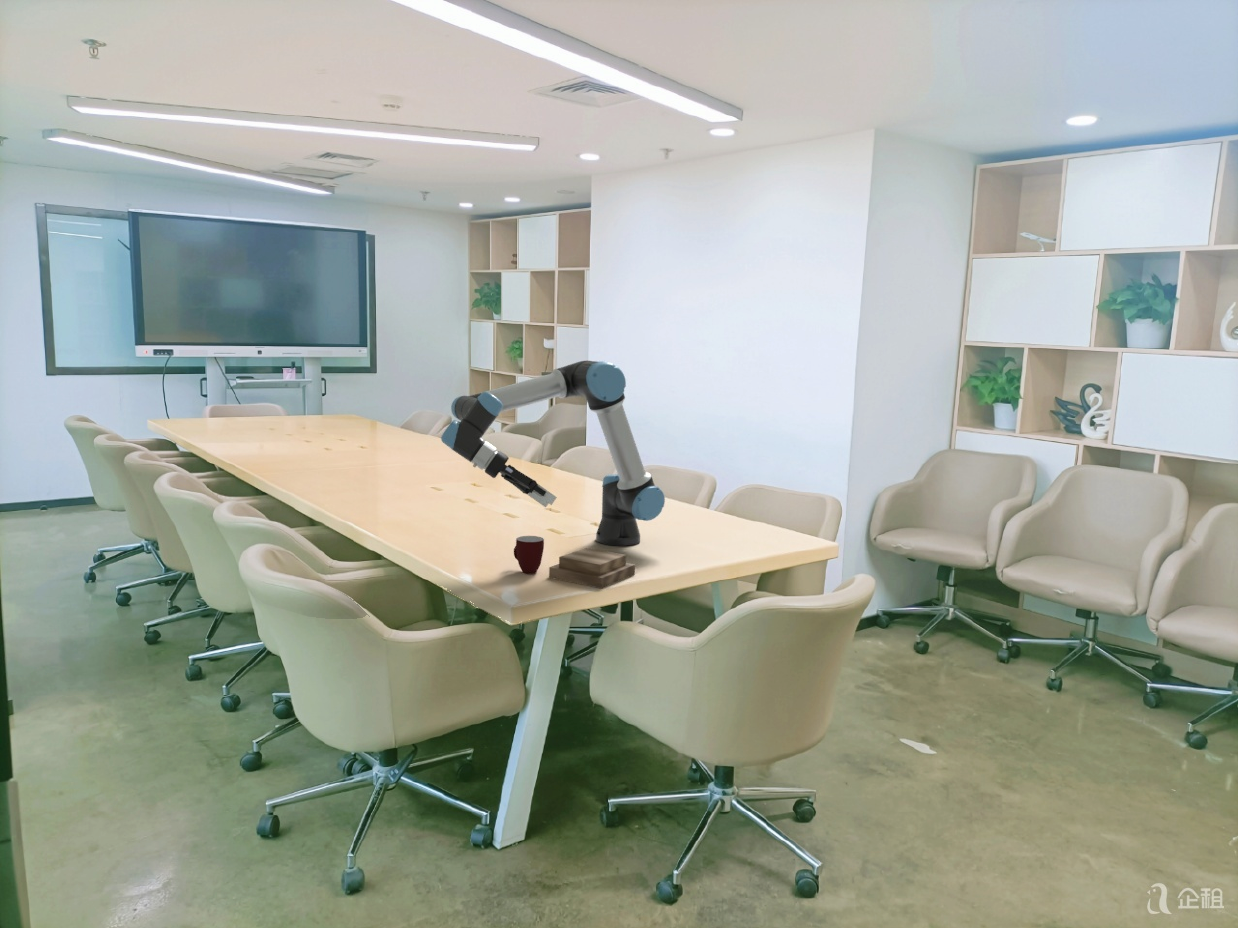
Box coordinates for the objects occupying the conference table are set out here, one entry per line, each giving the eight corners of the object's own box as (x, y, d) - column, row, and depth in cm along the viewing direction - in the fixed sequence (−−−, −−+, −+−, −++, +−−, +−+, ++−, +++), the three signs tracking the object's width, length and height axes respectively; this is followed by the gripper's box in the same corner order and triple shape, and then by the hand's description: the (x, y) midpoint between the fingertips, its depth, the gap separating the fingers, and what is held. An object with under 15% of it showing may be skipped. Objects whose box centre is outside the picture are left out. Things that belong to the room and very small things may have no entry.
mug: (503, 571, 253) (503, 537, 252) (521, 565, 260) (522, 533, 259) (531, 577, 248) (531, 543, 246) (548, 571, 254) (549, 538, 253)
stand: (583, 564, 264) (584, 545, 263) (634, 574, 254) (635, 554, 254) (549, 577, 248) (549, 557, 248) (601, 588, 239) (602, 567, 238)
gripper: (481, 474, 261) (539, 514, 263) (485, 467, 236) (548, 511, 239) (495, 454, 262) (553, 494, 264) (501, 444, 238) (564, 489, 240)
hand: (551, 502), depth 251 cm, fingers open, 13 cm apart
